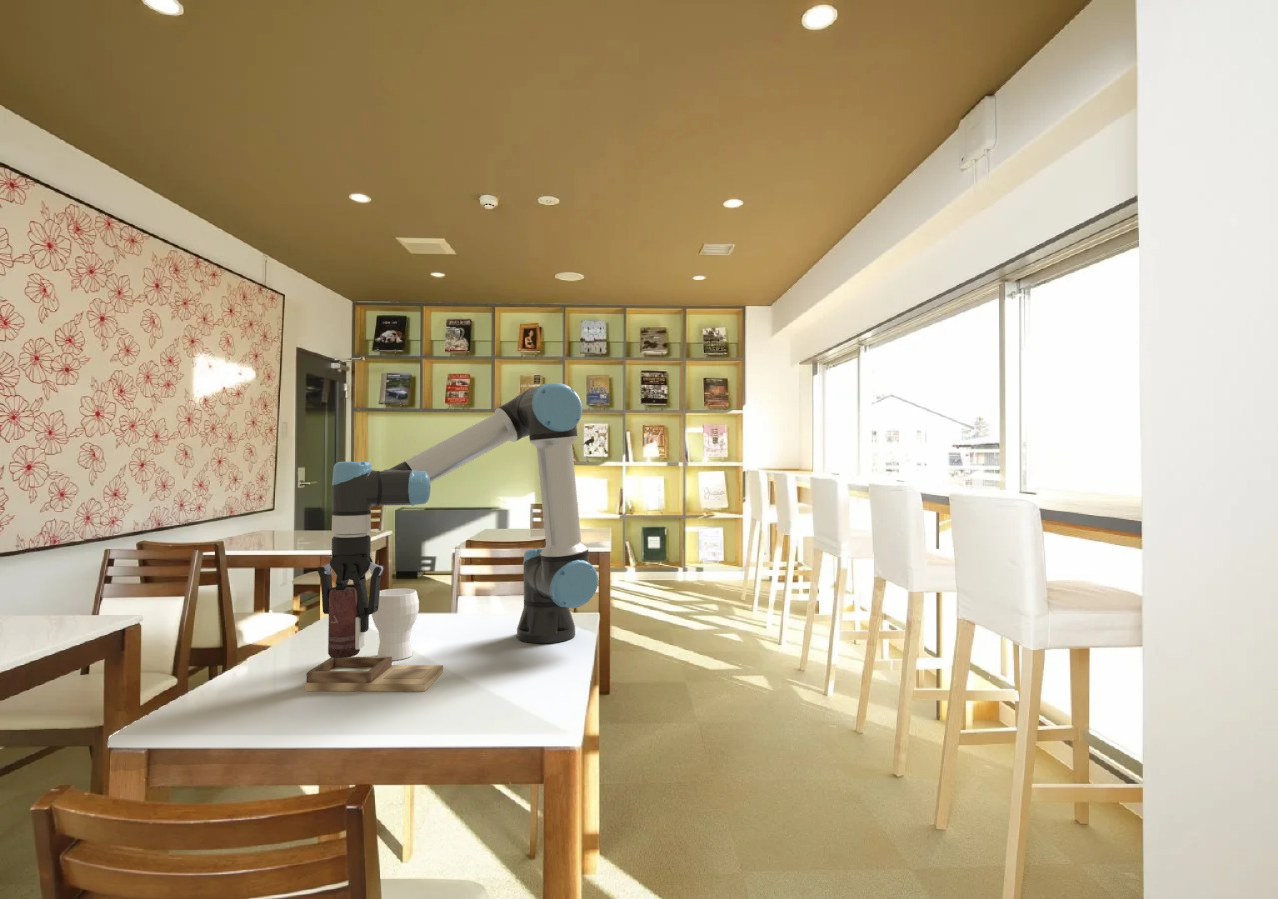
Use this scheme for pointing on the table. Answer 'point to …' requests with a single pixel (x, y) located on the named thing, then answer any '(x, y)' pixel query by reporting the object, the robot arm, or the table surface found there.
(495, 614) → the table surface
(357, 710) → the table surface
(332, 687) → the holder board
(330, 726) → the table surface
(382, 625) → the cup
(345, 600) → the can
